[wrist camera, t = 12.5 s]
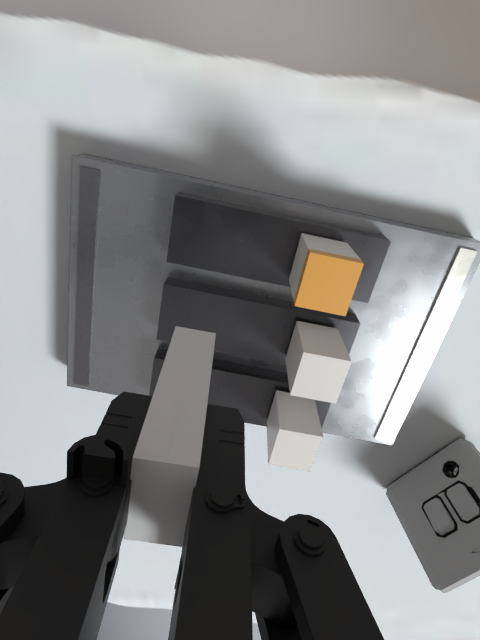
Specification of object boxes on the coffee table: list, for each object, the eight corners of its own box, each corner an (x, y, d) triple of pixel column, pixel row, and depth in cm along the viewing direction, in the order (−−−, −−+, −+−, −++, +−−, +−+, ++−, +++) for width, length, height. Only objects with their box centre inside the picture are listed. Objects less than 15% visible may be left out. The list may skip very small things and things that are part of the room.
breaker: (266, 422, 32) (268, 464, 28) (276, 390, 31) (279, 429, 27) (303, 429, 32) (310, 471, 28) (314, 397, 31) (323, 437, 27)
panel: (76, 372, 35) (59, 396, 32) (83, 153, 28) (61, 157, 25) (385, 429, 37) (397, 458, 34) (473, 238, 29) (499, 251, 26)
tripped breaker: (288, 279, 27) (294, 306, 23) (301, 232, 26) (309, 252, 22) (332, 288, 27) (345, 316, 23) (347, 242, 26) (364, 263, 22)
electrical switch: (462, 432, 37) (530, 527, 29) (492, 457, 39) (564, 554, 31) (381, 486, 40) (421, 586, 32) (412, 507, 42) (458, 607, 34)
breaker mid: (285, 359, 30) (290, 395, 26) (296, 320, 28) (303, 352, 24) (325, 366, 30) (335, 403, 26) (338, 328, 29) (351, 361, 25)
